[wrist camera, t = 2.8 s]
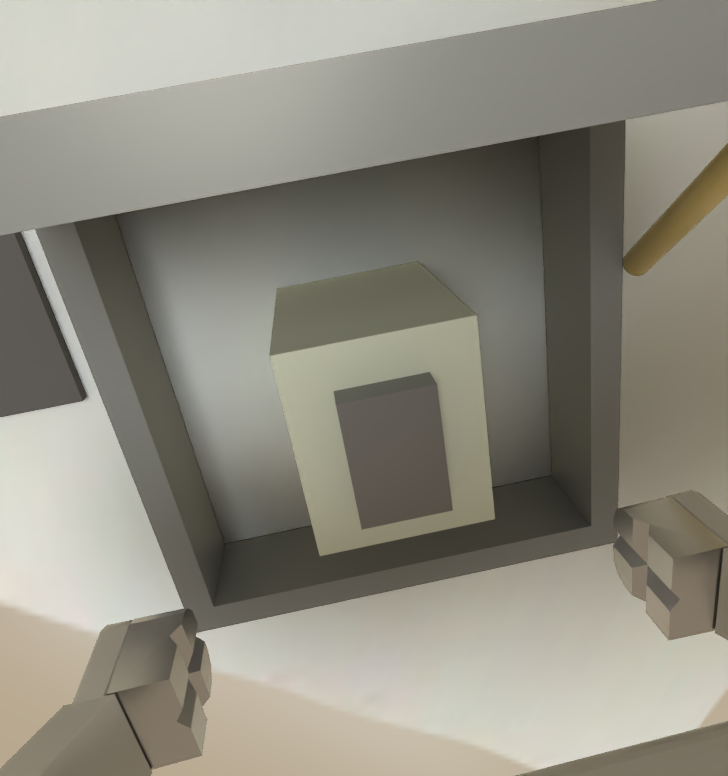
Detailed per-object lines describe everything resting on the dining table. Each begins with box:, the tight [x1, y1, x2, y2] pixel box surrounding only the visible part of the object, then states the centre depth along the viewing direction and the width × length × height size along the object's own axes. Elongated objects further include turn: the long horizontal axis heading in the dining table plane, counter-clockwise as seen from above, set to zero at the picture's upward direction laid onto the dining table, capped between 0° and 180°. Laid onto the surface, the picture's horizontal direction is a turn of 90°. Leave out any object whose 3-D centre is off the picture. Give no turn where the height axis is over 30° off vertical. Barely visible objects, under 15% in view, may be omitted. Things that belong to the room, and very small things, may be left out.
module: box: [269, 261, 495, 556], centre depth 17 cm, size 5×6×8 cm
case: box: [0, 0, 728, 633], centre depth 15 cm, size 17×16×14 cm
